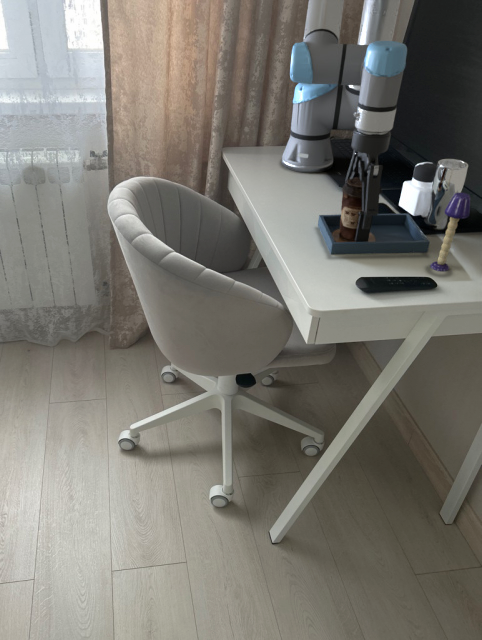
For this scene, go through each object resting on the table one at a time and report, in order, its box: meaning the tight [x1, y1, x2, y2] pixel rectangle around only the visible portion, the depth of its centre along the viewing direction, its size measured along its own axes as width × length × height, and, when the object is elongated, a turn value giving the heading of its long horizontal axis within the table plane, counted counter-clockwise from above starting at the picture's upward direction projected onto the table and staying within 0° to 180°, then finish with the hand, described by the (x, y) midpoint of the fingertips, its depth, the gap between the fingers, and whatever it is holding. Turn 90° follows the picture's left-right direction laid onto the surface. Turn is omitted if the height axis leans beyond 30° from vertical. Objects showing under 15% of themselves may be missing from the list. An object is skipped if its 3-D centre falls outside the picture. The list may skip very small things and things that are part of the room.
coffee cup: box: [339, 177, 382, 242], centre depth 126 cm, size 9×8×13 cm
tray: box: [317, 212, 431, 255], centre depth 130 cm, size 15×22×4 cm
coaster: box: [332, 229, 375, 242], centre depth 131 cm, size 10×10×1 cm
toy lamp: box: [429, 192, 471, 273], centre depth 116 cm, size 5×5×17 cm
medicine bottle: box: [398, 161, 438, 218], centre depth 140 cm, size 7×7×12 cm
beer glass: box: [423, 158, 469, 232], centre depth 133 cm, size 7×7×15 cm
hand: (354, 228), depth 129 cm, fingers open, 11 cm apart
